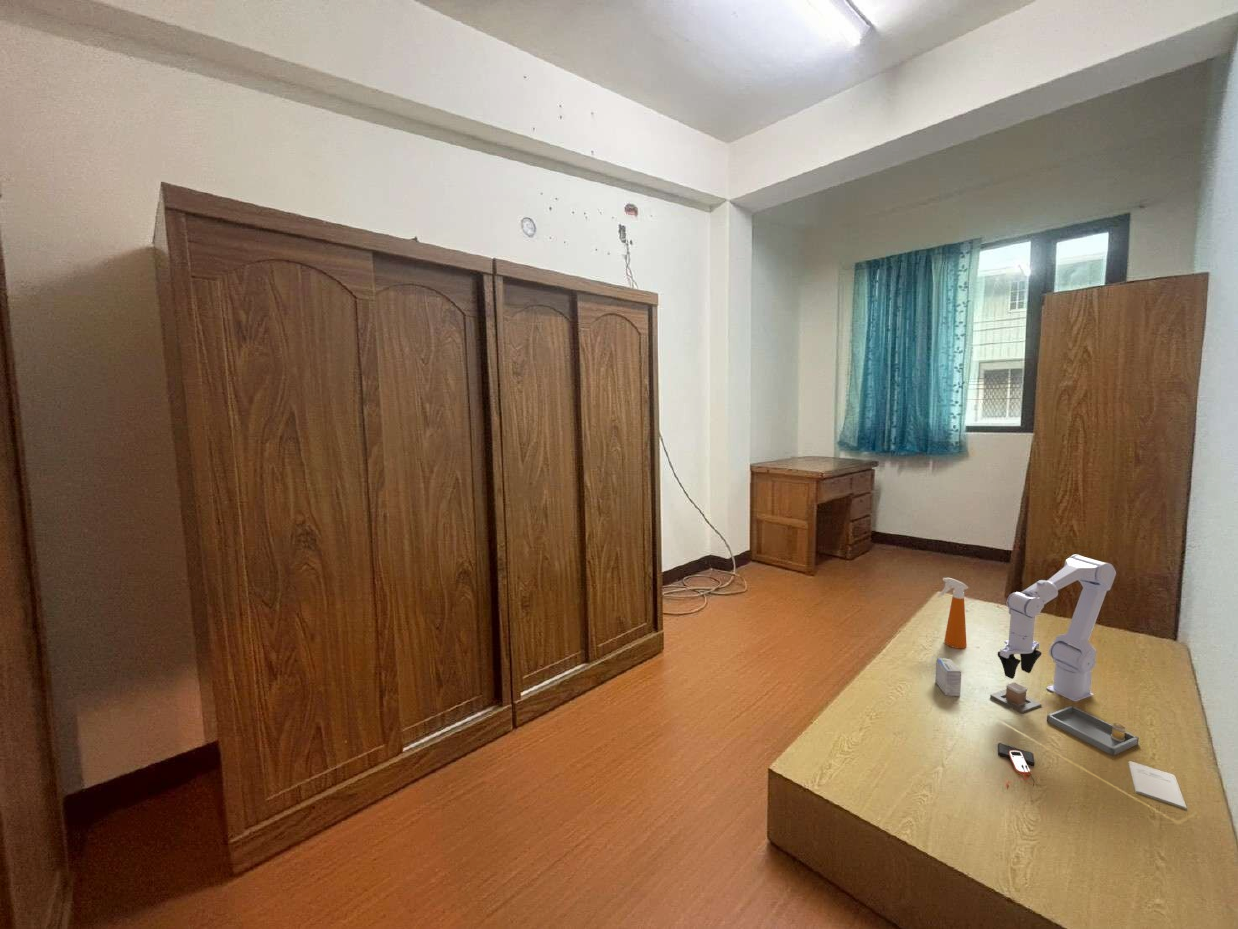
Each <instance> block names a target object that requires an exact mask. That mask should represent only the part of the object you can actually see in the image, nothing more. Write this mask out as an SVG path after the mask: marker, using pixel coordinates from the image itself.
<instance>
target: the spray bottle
mask: <svg viewBox="0 0 1238 929" xmlns="http://www.w3.org/2000/svg"><path fill="white" fill-rule="evenodd" d="M942 581H943V582H945V583H944V587H943V589H942V591H940V592H939V594H938V595H937V596H936V597H937V598H940V597H942V596H944V595H945V594H946V593H948V591H950V590H952V589H953V591H952V597H951V601H950V602H951V603H950V609H949V613H948V618H947V619H948V620H947V624H946V630H945V634H944V640H943V641H944V644H946V645H947V646H949V647H950V648H951V647H952V648H953V649H954V648H955V649H965V648H967V646H968V645H967V630H966V628H967V627H966V626H967V625H966V608H965V592H964V590H967V589H970V587H969V586H968V585H967V584H965V583H964V582H962V581H959V580H957V579H954V578H951V577H948V576H947V577H942Z"/></svg>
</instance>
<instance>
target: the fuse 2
mask: <svg viewBox="0 0 1238 929" xmlns="http://www.w3.org/2000/svg"><path fill="white" fill-rule="evenodd" d="M1111 725H1112V734H1111V739H1113V740H1114V741H1116V742H1119V743H1122V742H1124V740H1125V739H1124V736H1125V731H1126V730H1127V729H1126V726H1124V725H1123V724H1121V723H1117V722H1113V723H1112V724H1111ZM1126 732H1127V731H1126Z"/></svg>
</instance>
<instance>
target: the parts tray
mask: <svg viewBox="0 0 1238 929" xmlns="http://www.w3.org/2000/svg"><path fill="white" fill-rule="evenodd" d="M1046 722H1047V723H1050V724H1052V725H1053V726H1055V727H1057V728H1059V729H1061V730H1063V731H1064V732H1066V733H1068V734H1070V735H1072V736H1074V737H1076V738H1078V739H1079V740H1081V741H1084V742H1085V743H1088V744H1089V745H1091V746H1093V747H1095V748H1097V749H1099V750H1101V751H1102V752H1104V753H1107V754H1108V755H1111V756H1112V757H1113V756H1116V755H1118V754H1121V753H1122V752H1124V751H1127V750H1129V749H1132V748H1133V747H1136V746H1138V745H1139V737H1138V736H1136V735H1134V734H1132V733H1129V732H1128V731H1125V736H1124V739H1125V740H1124V742H1122V743H1119V742H1116V741H1114V740H1113V739H1111V734H1112V724H1111V723H1109V722H1107V721H1105V720H1102V719H1101V718H1098V717H1097V716H1095V715H1092V714H1090V713H1088V712H1086V711H1083V710H1082V709H1080V708H1078V707H1075V706H1073V705H1070V706H1067V707H1064V708H1062V709H1059V710H1056V711H1054V712H1052V713H1049V714H1047V716H1046Z"/></svg>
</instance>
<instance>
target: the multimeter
mask: <svg viewBox="0 0 1238 929" xmlns="http://www.w3.org/2000/svg"><path fill="white" fill-rule="evenodd" d="M997 753H998V757H1001V758H1003V759H1007V760H1010V761H1011V765H1012V766H1013V768H1014V770H1015V772H1016V773H1017V774H1020V775H1023V779H1024V780H1026V777H1025V776H1031V778H1032V780H1033V782H1035V779H1034V778H1033V775H1032V774H1031V772H1032V771H1031V769H1030V768H1029V767H1032V768H1034V767H1035V758H1034V753H1033V752H1032V751H1028V750H1024V749H1023V748H1022V749H1021V748H1018V747H1015V746H1011V745H1009V744H1006V743H1002V742H998V743H997ZM1006 782H1007V783H1006V785H1005V786H1006V787H1007V789H1009V788H1010V786H1009V784H1010V782H1009V780H1007V781H1006ZM1027 783H1028V784H1029V785H1032V784H1033V785H1032V787H1034V786H1035V783H1032V784H1031V782H1029V781H1027Z"/></svg>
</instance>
